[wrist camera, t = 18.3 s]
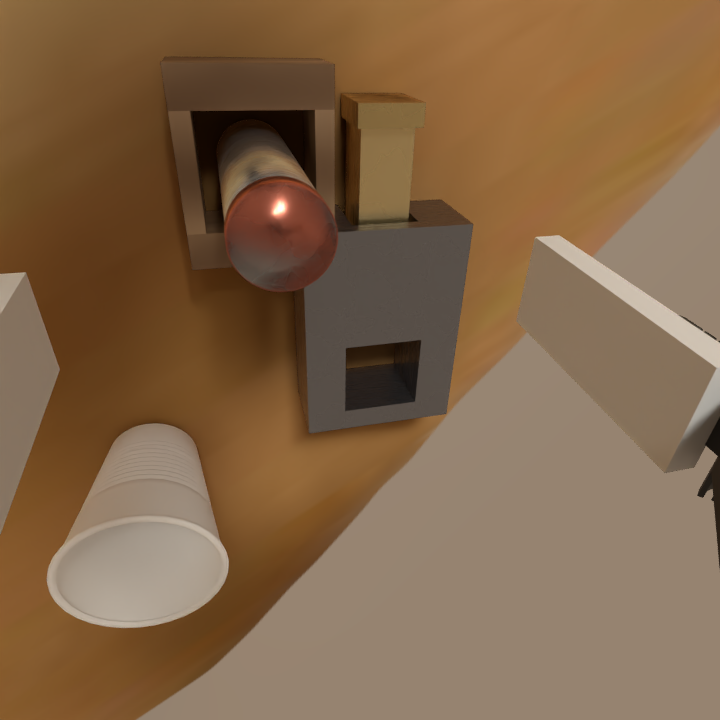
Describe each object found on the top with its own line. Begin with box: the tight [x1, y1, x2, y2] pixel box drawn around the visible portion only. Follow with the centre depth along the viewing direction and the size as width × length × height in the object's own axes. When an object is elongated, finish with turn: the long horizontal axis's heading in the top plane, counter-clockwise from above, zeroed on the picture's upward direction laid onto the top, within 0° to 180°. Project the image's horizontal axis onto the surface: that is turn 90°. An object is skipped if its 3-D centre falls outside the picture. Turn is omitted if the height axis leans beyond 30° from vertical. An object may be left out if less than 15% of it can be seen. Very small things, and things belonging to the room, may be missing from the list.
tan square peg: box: [341, 93, 426, 225], centre depth 32 cm, size 11×4×4 cm, turn 179°
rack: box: [160, 57, 335, 270], centre depth 29 cm, size 10×8×4 cm
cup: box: [47, 423, 229, 628], centre depth 36 cm, size 10×10×11 cm
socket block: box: [294, 200, 473, 433], centre depth 36 cm, size 14×10×5 cm
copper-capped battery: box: [217, 119, 338, 292], centre depth 25 cm, size 4×4×14 cm
